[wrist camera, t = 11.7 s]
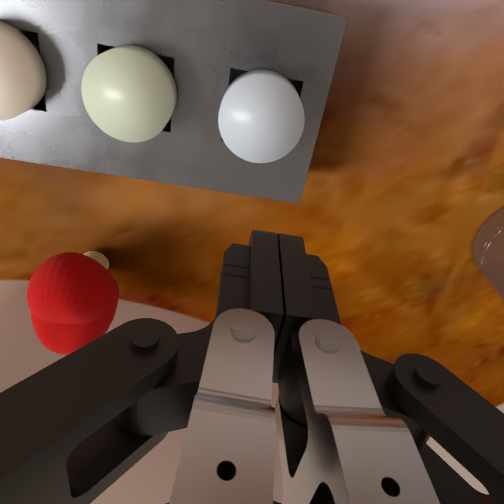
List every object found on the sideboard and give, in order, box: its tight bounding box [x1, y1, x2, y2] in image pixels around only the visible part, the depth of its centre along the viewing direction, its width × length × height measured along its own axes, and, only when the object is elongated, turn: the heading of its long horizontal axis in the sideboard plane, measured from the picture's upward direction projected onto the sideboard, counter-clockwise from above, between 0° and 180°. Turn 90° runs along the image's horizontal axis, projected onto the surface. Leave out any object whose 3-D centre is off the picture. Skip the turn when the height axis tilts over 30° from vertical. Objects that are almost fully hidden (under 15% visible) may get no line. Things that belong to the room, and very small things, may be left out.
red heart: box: [27, 251, 119, 355], centre depth 36 cm, size 9×7×10 cm
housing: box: [0, 0, 348, 204], centre depth 28 cm, size 24×12×6 cm, turn 80°
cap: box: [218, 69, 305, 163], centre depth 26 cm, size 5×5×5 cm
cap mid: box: [81, 45, 177, 142], centre depth 26 cm, size 5×5×5 cm
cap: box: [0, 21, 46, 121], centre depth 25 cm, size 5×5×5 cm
